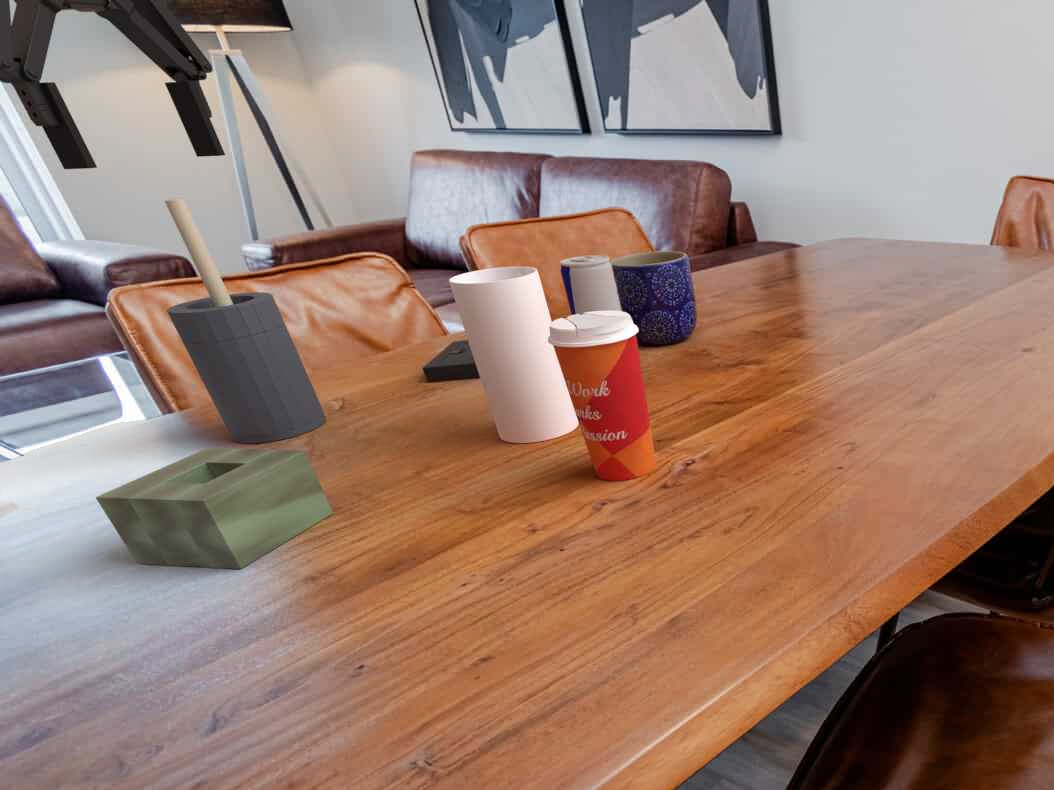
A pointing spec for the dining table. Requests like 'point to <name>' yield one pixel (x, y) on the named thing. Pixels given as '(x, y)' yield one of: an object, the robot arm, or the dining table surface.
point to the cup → (515, 352)
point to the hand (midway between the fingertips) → (150, 162)
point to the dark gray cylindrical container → (249, 367)
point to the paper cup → (606, 390)
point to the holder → (217, 507)
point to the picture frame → (452, 364)
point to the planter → (657, 295)
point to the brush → (198, 251)
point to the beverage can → (590, 284)
